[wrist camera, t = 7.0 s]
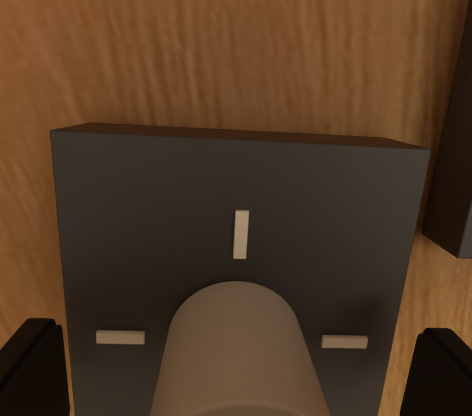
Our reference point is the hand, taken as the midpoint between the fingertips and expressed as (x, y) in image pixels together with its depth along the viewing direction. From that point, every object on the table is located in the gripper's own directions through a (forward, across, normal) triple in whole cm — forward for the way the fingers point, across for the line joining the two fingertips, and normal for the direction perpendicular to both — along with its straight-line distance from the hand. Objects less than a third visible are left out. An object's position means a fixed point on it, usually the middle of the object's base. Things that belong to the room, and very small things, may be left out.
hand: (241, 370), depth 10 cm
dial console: (+5, 0, 0) cm, 5 cm away
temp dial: (+2, 0, 0) cm, 2 cm away
